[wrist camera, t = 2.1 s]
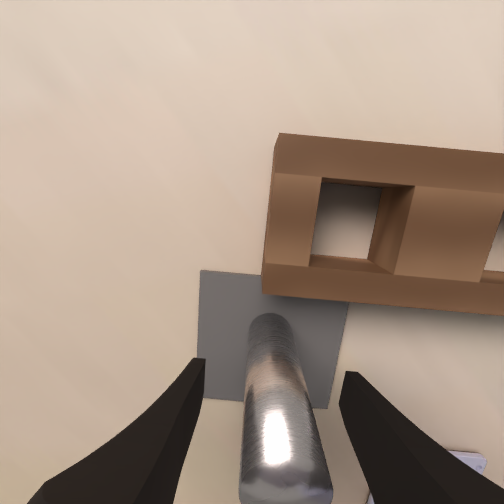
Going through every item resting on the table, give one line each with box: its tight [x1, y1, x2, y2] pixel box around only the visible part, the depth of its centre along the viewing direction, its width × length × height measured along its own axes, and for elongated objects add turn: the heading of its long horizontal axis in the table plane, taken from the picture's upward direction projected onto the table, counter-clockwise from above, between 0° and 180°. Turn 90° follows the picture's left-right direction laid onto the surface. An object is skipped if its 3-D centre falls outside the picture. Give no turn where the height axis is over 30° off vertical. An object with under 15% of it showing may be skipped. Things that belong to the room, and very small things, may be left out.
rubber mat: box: [197, 270, 349, 409], centre depth 17 cm, size 10×10×1 cm
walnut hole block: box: [261, 133, 504, 316], centre depth 13 cm, size 8×18×3 cm, turn 85°
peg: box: [239, 313, 333, 504], centre depth 12 cm, size 3×3×9 cm
